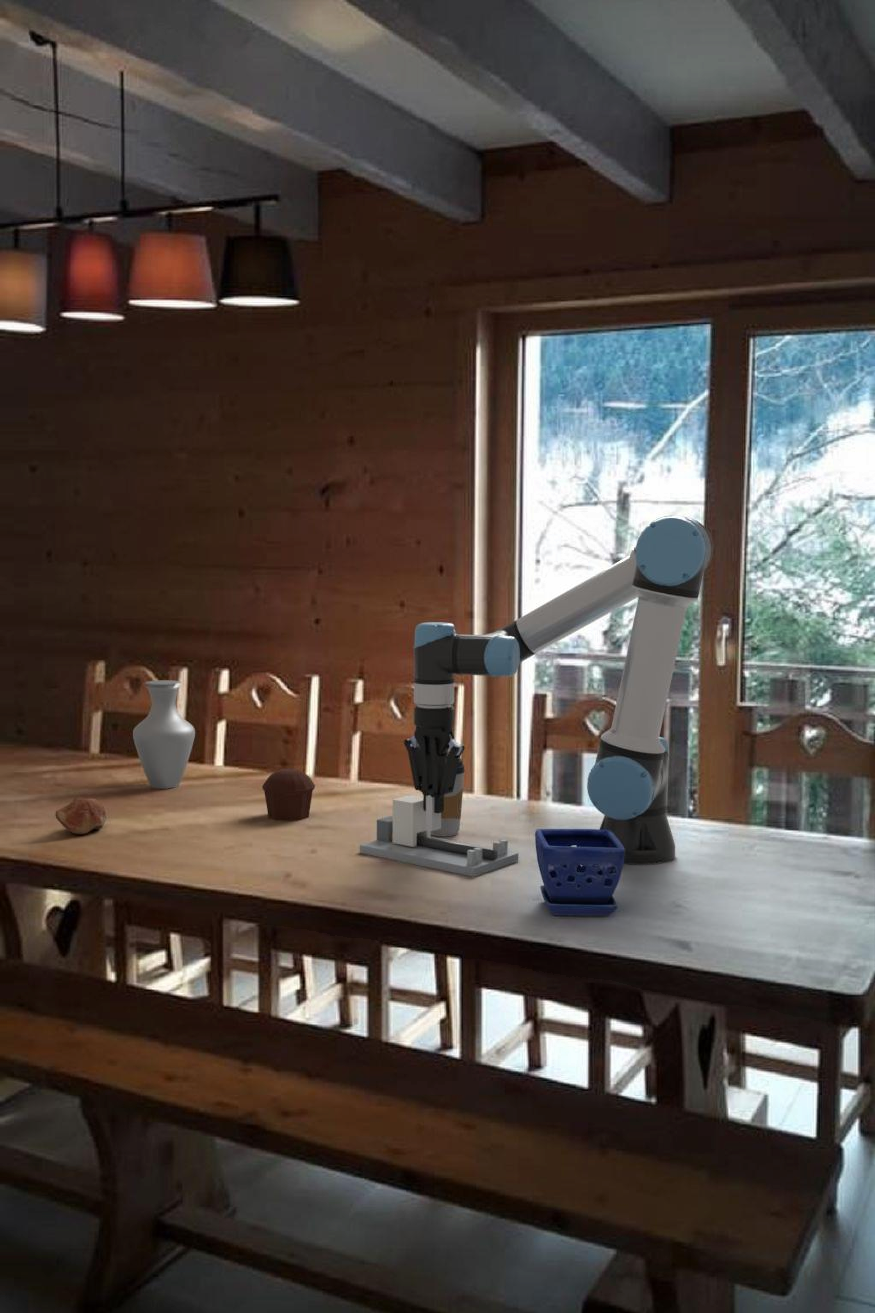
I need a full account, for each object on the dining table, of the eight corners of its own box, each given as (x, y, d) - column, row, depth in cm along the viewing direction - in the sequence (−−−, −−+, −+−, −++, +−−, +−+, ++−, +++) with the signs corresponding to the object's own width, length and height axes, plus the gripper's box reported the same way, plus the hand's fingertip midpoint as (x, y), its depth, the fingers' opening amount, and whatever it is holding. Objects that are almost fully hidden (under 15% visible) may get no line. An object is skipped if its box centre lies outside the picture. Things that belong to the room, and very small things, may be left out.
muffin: (321, 820, 276) (321, 773, 275) (270, 824, 272) (270, 776, 271) (306, 808, 287) (306, 763, 286) (256, 812, 283) (256, 766, 282)
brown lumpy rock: (60, 824, 255) (64, 777, 260) (38, 837, 260) (42, 791, 265) (116, 838, 263) (119, 793, 268) (94, 851, 268) (97, 806, 273)
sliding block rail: (518, 861, 243) (518, 832, 243) (473, 876, 232) (473, 846, 232) (406, 839, 260) (406, 811, 259) (359, 852, 249) (359, 824, 248)
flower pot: (610, 897, 220) (612, 827, 219) (624, 920, 207) (626, 847, 206) (532, 897, 220) (533, 827, 219) (541, 921, 207) (542, 847, 205)
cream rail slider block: (430, 841, 250) (430, 798, 249) (412, 846, 246) (413, 803, 245) (410, 837, 253) (410, 795, 252) (392, 842, 249) (392, 799, 248)
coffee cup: (460, 838, 260) (460, 764, 259) (419, 836, 262) (419, 762, 260) (467, 829, 268) (468, 757, 267) (427, 827, 270) (428, 755, 269)
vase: (131, 782, 315) (129, 679, 312) (191, 779, 319) (190, 677, 317) (136, 793, 301) (134, 686, 299) (199, 790, 305) (198, 684, 303)
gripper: (474, 706, 243) (473, 830, 245) (419, 700, 251) (419, 820, 253) (449, 710, 237) (448, 838, 239) (394, 704, 245) (394, 827, 247)
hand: (433, 829), depth 246 cm, fingers closed
